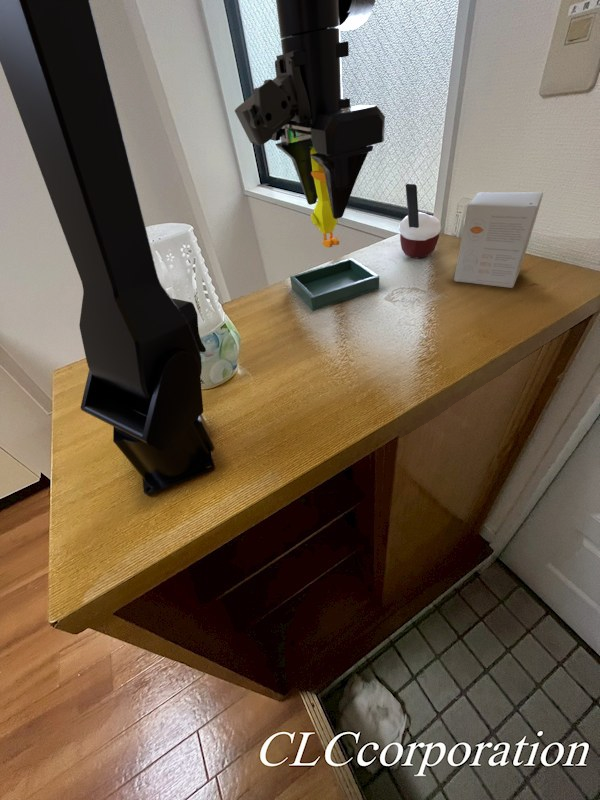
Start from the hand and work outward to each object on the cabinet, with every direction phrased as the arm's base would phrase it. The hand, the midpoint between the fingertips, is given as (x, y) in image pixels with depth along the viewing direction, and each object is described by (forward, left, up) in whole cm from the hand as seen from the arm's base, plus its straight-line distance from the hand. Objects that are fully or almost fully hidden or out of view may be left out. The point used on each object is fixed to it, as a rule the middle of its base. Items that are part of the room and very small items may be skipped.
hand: (324, 210), depth 44 cm
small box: (+22, -8, -13) cm, 26 cm away
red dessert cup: (+19, +5, -13) cm, 23 cm away
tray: (+2, +2, -12) cm, 13 cm away
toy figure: (0, -1, -4) cm, 4 cm away
